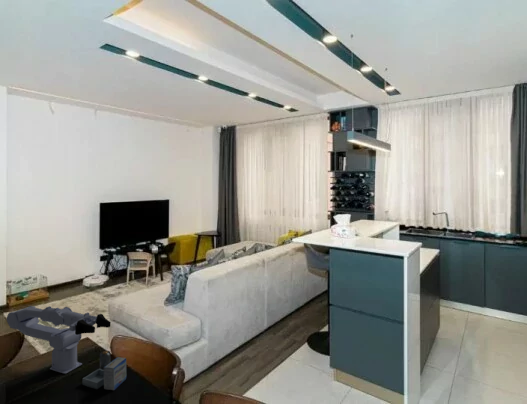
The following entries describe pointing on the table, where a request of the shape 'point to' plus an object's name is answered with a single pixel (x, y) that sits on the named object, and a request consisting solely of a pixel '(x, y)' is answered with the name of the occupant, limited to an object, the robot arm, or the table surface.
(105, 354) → the battery cell
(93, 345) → the table surface
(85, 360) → the table surface
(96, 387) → the trough
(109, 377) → the medicine box
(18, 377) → the table surface
